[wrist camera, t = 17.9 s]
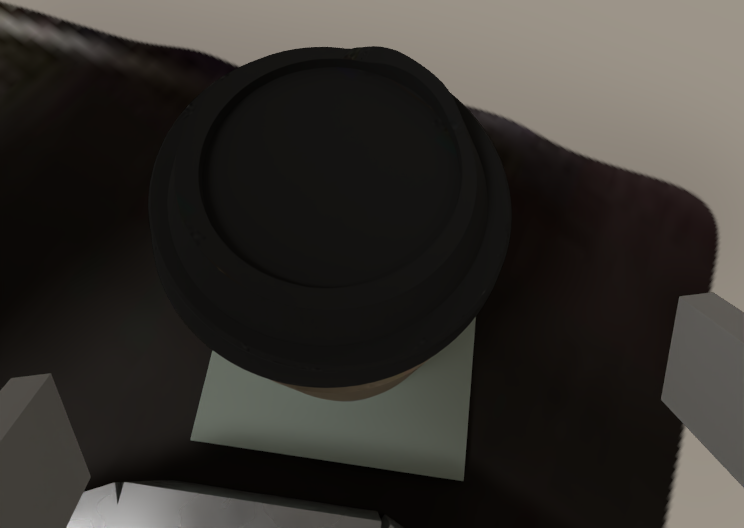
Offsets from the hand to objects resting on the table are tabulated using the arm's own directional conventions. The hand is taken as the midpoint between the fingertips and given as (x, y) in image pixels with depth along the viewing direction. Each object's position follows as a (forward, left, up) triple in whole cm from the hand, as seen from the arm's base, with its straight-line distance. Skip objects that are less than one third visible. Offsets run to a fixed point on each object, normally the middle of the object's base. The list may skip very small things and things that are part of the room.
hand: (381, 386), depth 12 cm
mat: (-2, +4, -14) cm, 14 cm away
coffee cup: (-2, +4, -13) cm, 14 cm away
